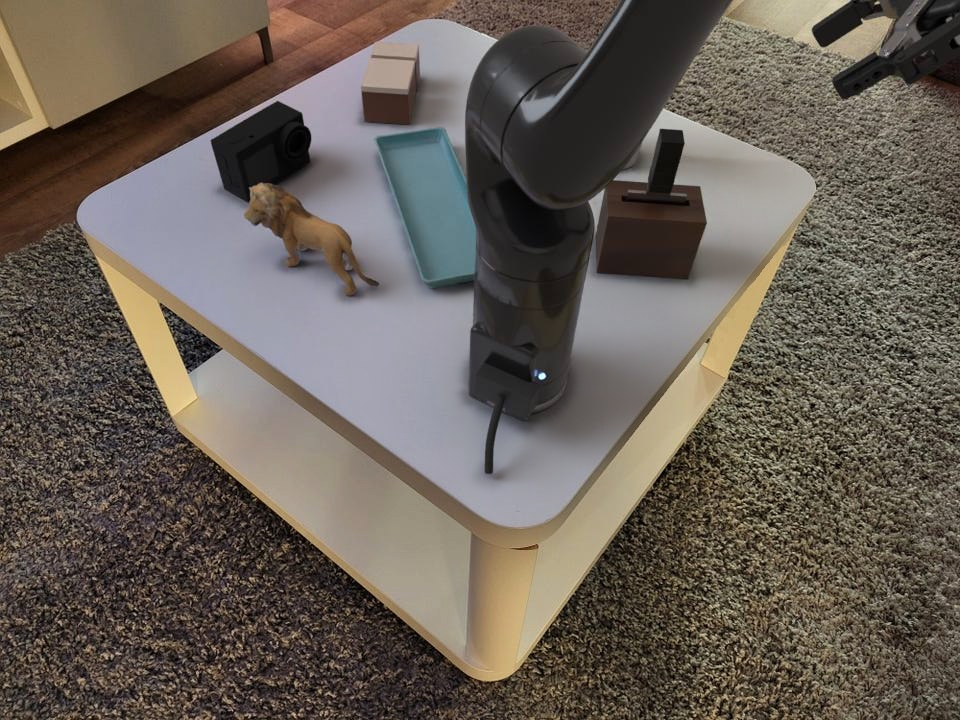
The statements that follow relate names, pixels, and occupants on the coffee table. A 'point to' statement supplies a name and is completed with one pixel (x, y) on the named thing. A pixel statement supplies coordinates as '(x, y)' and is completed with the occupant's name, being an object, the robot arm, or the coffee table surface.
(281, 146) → the digital camera
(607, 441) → the coffee table surface
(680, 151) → the knife
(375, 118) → the brown lidded box
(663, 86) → the robot arm
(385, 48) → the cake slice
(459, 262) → the teal serving tray
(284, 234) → the lion figurine
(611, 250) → the knife block
